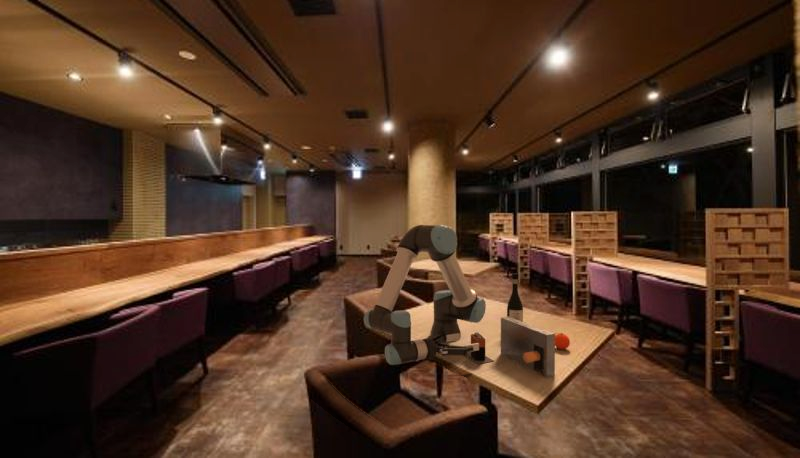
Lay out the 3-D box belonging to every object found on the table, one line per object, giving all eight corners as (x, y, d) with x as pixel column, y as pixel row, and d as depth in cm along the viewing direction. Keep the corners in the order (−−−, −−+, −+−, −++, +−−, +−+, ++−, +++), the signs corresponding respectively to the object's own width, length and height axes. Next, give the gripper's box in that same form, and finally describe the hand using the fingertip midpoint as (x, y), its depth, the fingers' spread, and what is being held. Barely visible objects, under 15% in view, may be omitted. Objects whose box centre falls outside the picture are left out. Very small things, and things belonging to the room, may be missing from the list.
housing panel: (500, 353, 159) (500, 317, 159) (508, 352, 161) (508, 316, 160) (546, 377, 135) (546, 335, 135) (554, 375, 137) (554, 333, 136)
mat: (462, 355, 158) (462, 354, 158) (478, 352, 161) (478, 351, 161) (478, 364, 148) (478, 363, 148) (493, 361, 151) (493, 360, 151)
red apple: (548, 346, 168) (548, 331, 167) (559, 344, 170) (559, 329, 170) (561, 352, 160) (561, 336, 160) (573, 350, 163) (573, 334, 163)
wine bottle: (524, 332, 189) (525, 274, 188) (509, 332, 189) (509, 274, 188) (520, 327, 197) (520, 272, 196) (505, 327, 197) (505, 272, 196)
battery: (480, 354, 158) (480, 331, 157) (485, 360, 151) (485, 336, 151) (470, 354, 157) (470, 332, 157) (475, 361, 150) (475, 337, 150)
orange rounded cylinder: (523, 360, 138) (523, 351, 138) (533, 358, 140) (533, 349, 140) (529, 364, 135) (530, 354, 135) (540, 362, 137) (540, 352, 137)
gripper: (409, 348, 154) (452, 341, 163) (439, 370, 132) (487, 360, 141) (409, 330, 154) (452, 324, 163) (439, 350, 132) (487, 341, 140)
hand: (468, 341), depth 152 cm, fingers open, 13 cm apart
